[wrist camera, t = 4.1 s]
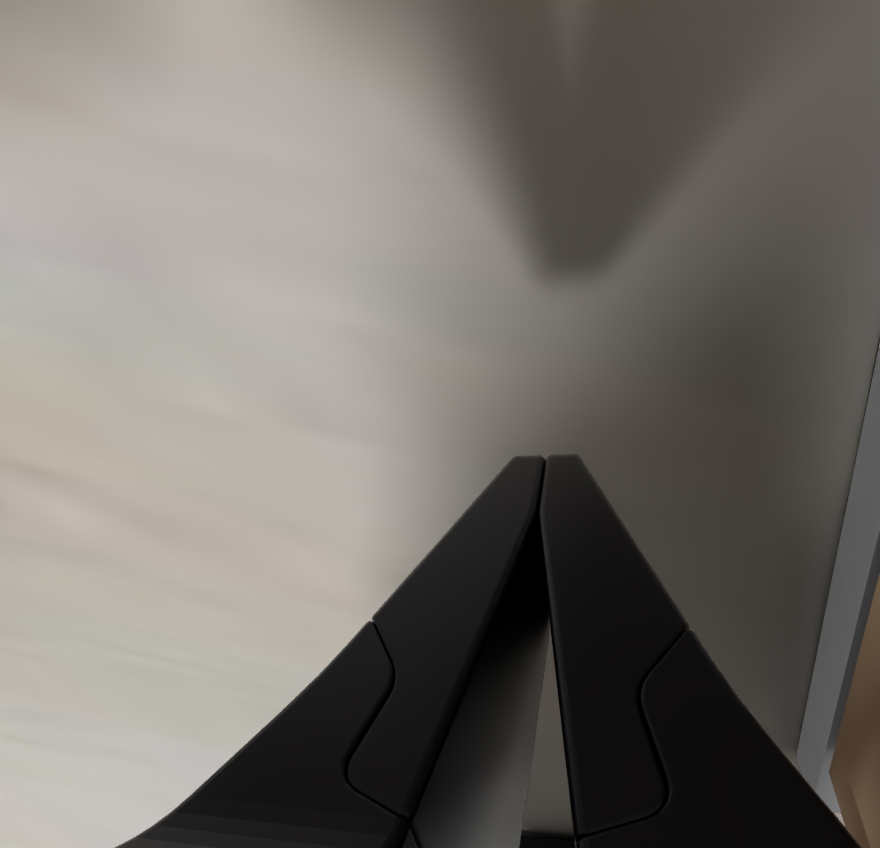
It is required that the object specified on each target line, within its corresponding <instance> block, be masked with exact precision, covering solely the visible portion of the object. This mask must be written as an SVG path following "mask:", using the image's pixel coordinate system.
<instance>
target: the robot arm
mask: <svg viewBox="0 0 880 848" xmlns="http://www.w3.org/2000/svg"><path fill="white" fill-rule="evenodd" d="M372 621H373V622H372ZM372 621H368V622H367V623H366V624H365V625H364V626H363V627H362V629H361V630H360V631H359V632H358V633H357V634H356V635H355V637H354V638H353V639H352V640H351V641H350V642H349V643H348V644H347V645H346V646H345V648H344V649H343V650H342V651H341V652H340V653H339V654H338V655H337V656H336V657H335V658H334V659H333V660H332V661H331V663H330V664H329V665H328V666H327V667H326V668H325V669H324V670H323V671H322V672H321V673H320V674H319V675H318V676H317V677H316V678H315V679H314V680H313V681H312V682H311V683H310V684H309V685H308V686H307V687H306V688H305V689H304V690H303V691H302V692H301V693H300V694H299V695H298V696H297V697H296V698H295V699H294V700H293V701H292V702H290V703H289V704H288V705H287V706H286V707H285V708H284V709H283V710H282V711H281V712H280V713H279V714H278V715H277V716H276V717H275V718H274V719H273V720H271V721H270V722H269V723H268V724H267V725H266V726H265V727H264V728H263V729H262V730H261V731H260V732H258V733H257V734H256V735H255V736H254V737H253V738H252V739H251V740H250V741H249V742H248V743H247V744H245V745H244V746H243V747H242V748H241V749H240V750H239V751H238V752H237V753H236V754H235V755H234V756H233V757H231V758H230V759H229V760H228V761H227V762H226V763H225V764H224V765H223V766H222V767H221V768H220V769H218V770H217V771H216V772H215V773H214V774H213V775H212V776H211V777H210V778H209V779H208V780H207V781H205V782H204V783H203V784H202V785H201V786H200V787H199V788H198V789H197V790H196V791H195V792H194V793H193V794H191V795H190V796H189V797H188V798H187V799H186V800H185V801H183V802H182V803H181V804H180V805H179V806H178V807H177V808H175V809H174V810H173V811H172V812H170V813H169V814H168V815H166V816H165V817H164V818H162V819H161V820H160V821H158V822H157V823H156V824H154V825H153V826H152V827H150V828H148V829H147V830H145V831H144V832H142V833H141V834H139V835H137V836H136V837H134V838H132V839H131V840H129V841H127V842H125V843H123V844H121V845H119V846H117V847H115V848H862V847H861V845H860V844H859V843H858V842H857V841H856V839H855V838H854V837H853V836H852V835H851V833H850V832H849V831H848V830H847V829H846V828H845V826H844V825H843V824H842V823H841V822H840V820H839V819H838V818H837V817H836V816H835V814H834V813H833V812H832V811H831V810H830V808H829V807H828V806H827V805H826V804H825V803H824V801H823V800H822V799H821V798H820V797H819V795H818V794H817V793H816V792H815V791H814V789H813V788H812V787H811V786H810V785H809V784H808V782H807V781H806V780H805V779H804V778H803V776H802V775H801V774H800V773H799V772H798V770H797V769H796V768H795V767H794V766H793V765H792V763H791V762H790V761H789V760H788V759H787V757H786V756H785V755H784V754H783V753H782V751H781V750H780V749H779V748H778V747H777V745H776V744H775V743H774V742H773V741H772V739H771V738H770V737H769V735H768V734H767V733H766V732H765V730H764V729H763V728H762V727H761V725H760V724H759V723H758V722H757V720H756V719H755V718H754V717H753V715H752V714H751V713H750V712H749V710H748V709H747V708H746V707H745V705H744V704H743V703H742V702H741V700H740V699H739V698H738V696H737V695H736V693H735V692H734V691H733V689H732V688H731V686H730V685H729V683H728V682H727V681H726V679H725V678H724V676H723V675H722V673H721V672H720V671H719V669H718V668H717V666H716V665H715V663H714V662H713V661H712V659H711V658H710V656H709V655H708V653H707V652H706V650H705V649H704V647H703V645H702V644H701V642H700V641H699V639H698V638H697V636H696V635H695V633H694V632H693V631H692V630H690V627H689V624H688V623H687V621H686V620H685V618H684V617H683V615H682V614H681V612H680V611H679V609H678V607H677V606H676V604H675V603H674V601H673V600H672V598H671V597H670V595H669V594H668V592H667V591H666V589H665V587H664V586H663V584H662V583H661V581H660V580H659V578H658V577H657V575H656V574H655V572H654V570H653V569H652V567H651V566H650V564H649V563H648V561H647V560H646V558H645V557H644V555H643V553H642V552H641V550H640V549H639V547H638V546H637V544H636V543H635V541H634V540H633V538H632V537H631V535H630V533H629V532H628V530H627V529H626V527H625V526H624V524H623V523H622V521H621V520H620V518H619V516H618V515H617V513H616V512H615V510H614V509H613V507H612V506H611V504H610V503H609V501H608V499H607V498H606V496H605V495H604V493H603V492H602V490H601V489H600V487H599V486H598V484H597V482H596V481H595V479H594V478H593V476H592V475H591V473H590V472H589V470H588V469H587V467H586V466H585V464H584V462H583V461H582V459H581V458H580V457H579V456H578V455H576V454H564V455H550V456H548V457H547V459H545V458H544V457H543V456H540V455H537V456H516V457H514V458H512V459H511V460H510V462H509V463H508V464H507V465H506V466H505V467H504V468H503V470H502V471H501V472H500V473H499V474H498V475H497V476H496V477H495V479H494V480H493V481H492V482H491V483H490V484H489V485H488V486H487V488H486V489H485V490H484V491H483V492H482V493H481V494H480V496H479V497H478V498H477V499H476V500H475V501H474V502H473V503H472V505H471V506H470V507H469V508H468V509H467V510H466V511H465V513H464V514H463V515H462V516H461V517H460V518H459V519H458V520H457V522H456V523H455V524H454V525H453V526H452V527H451V528H450V529H449V531H448V532H447V533H446V534H445V535H444V536H443V537H442V539H441V540H440V541H439V542H438V543H437V544H436V545H435V546H434V548H433V549H432V550H431V551H430V552H429V553H428V554H427V555H426V557H425V558H424V559H423V560H422V561H421V562H420V563H419V565H418V566H417V567H416V568H415V569H414V570H413V571H412V572H411V574H410V575H409V576H408V577H407V578H406V579H405V580H404V581H403V583H402V584H401V585H400V586H399V587H398V588H397V589H396V591H395V592H394V593H393V594H392V595H391V596H390V597H389V598H388V600H387V601H386V602H385V603H384V604H383V605H382V606H381V607H380V609H379V610H378V611H377V612H376V613H375V614H374V615H373V617H372ZM550 627H551V636H552V645H553V654H554V663H555V671H556V680H557V689H558V698H559V707H560V715H561V724H562V733H563V742H564V751H565V759H566V768H567V777H568V786H569V795H570V803H571V812H572V821H573V830H574V838H575V842H573V841H564V840H555V839H545V838H536V837H527V836H521V831H522V824H523V817H524V810H525V803H526V796H527V789H528V782H529V775H530V768H531V761H532V754H533V747H534V740H535V733H536V726H537V719H538V712H539V705H540V698H541V691H542V684H543V677H544V670H545V663H546V656H547V649H548V642H549V633H550Z"/></svg>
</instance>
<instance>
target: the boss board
mask: <svg viewBox="0 0 880 848" xmlns="http://www.w3.org/2000/svg"><path fill="white" fill-rule="evenodd" d="M879 573H880V343H879V348H878V353H877V358H876V363H875V368H874V373H873V378H872V383H871V388H870V393H869V398H868V402H867V407H866V412H865V417H864V422H863V427H862V432H861V437H860V442H859V447H858V452H857V457H856V462H855V467H854V472H853V477H852V482H851V487H850V492H849V497H848V502H847V506H846V511H845V516H844V521H843V526H842V531H841V536H840V541H839V546H838V551H837V556H836V561H835V566H834V571H833V576H832V581H831V586H830V591H829V596H828V601H827V606H826V611H825V615H824V620H823V625H822V630H821V635H820V640H819V645H818V650H817V655H816V660H815V665H814V670H813V675H812V680H811V685H810V690H809V695H808V700H807V705H806V710H805V715H804V719H803V724H802V729H801V734H800V739H799V744H798V749H797V754H796V756H797V759H798V763H799V767H800V770H801V774H802V776H803V778H804V779H805V780H806V781H807V782H808V784H809V785H810V786H811V787H812V788H813V789H814V791H815V792H816V793H817V794H818V795H819V797H820V798H821V799H822V800H823V801H824V803H825V804H826V805H827V806H828V807H829V808H830V810H831V811H832V812H839V813H841V811H840V808H839V804H838V801H837V798H836V795H835V791H834V788H833V785H832V781H831V778H830V775H829V769H830V765H831V761H832V757H833V753H834V750H835V746H836V742H837V738H838V734H839V730H840V726H841V722H842V718H843V714H844V710H845V706H846V703H847V699H848V695H849V691H850V687H851V683H852V679H853V675H854V671H855V667H856V663H857V659H858V655H859V652H860V648H861V644H862V640H863V636H864V632H865V628H866V624H867V620H868V616H869V612H870V608H871V605H872V601H873V597H874V593H875V589H876V585H877V581H878V577H879Z"/></svg>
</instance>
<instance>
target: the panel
mask: <svg viewBox="0 0 880 848" xmlns="http://www.w3.org/2000/svg"><path fill="white" fill-rule="evenodd" d="M829 775H830V778H831V781H832V785H833V788H834V791H835V795H836V798H837V801H838V804H839V808H840V811H841V814H842V817H843V821H844V824H845V827H846V829H847V830H848V831H849V832H850V833H851V835H852V836H853V837H854V838H855V839H856V841H857V842H858V843H859V844H860V845H861V847H862V848H880V573H879V577H878V581H877V585H876V589H875V593H874V597H873V601H872V605H871V608H870V612H869V616H868V620H867V624H866V628H865V632H864V636H863V640H862V644H861V648H860V652H859V655H858V659H857V663H856V667H855V671H854V675H853V679H852V683H851V687H850V691H849V695H848V699H847V703H846V706H845V710H844V714H843V718H842V722H841V726H840V730H839V734H838V738H837V742H836V746H835V750H834V753H833V757H832V761H831V765H830V769H829Z"/></svg>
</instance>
